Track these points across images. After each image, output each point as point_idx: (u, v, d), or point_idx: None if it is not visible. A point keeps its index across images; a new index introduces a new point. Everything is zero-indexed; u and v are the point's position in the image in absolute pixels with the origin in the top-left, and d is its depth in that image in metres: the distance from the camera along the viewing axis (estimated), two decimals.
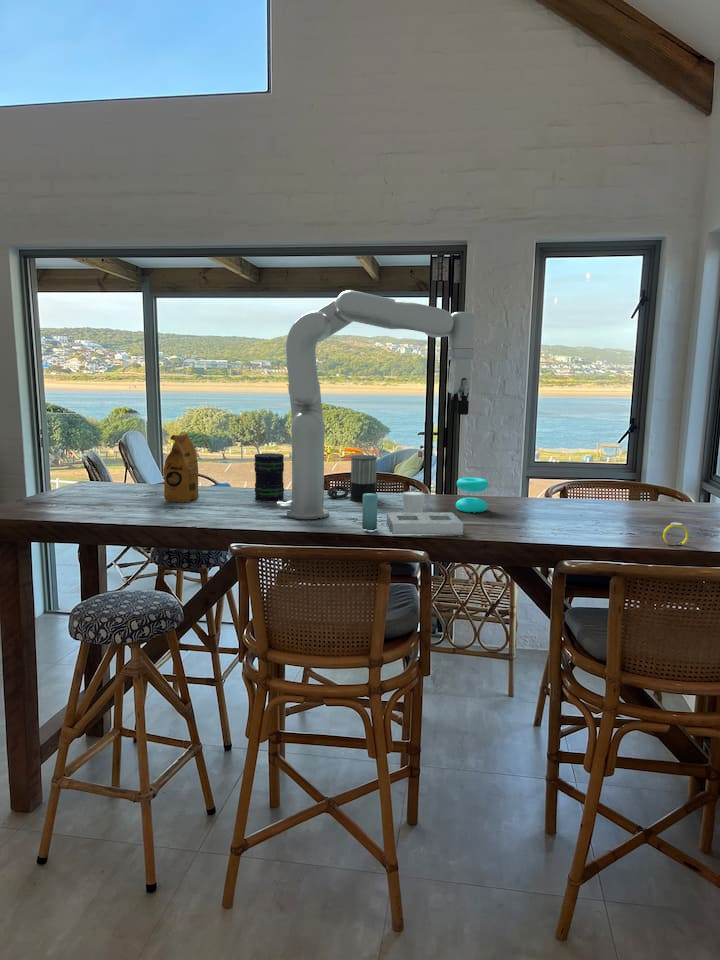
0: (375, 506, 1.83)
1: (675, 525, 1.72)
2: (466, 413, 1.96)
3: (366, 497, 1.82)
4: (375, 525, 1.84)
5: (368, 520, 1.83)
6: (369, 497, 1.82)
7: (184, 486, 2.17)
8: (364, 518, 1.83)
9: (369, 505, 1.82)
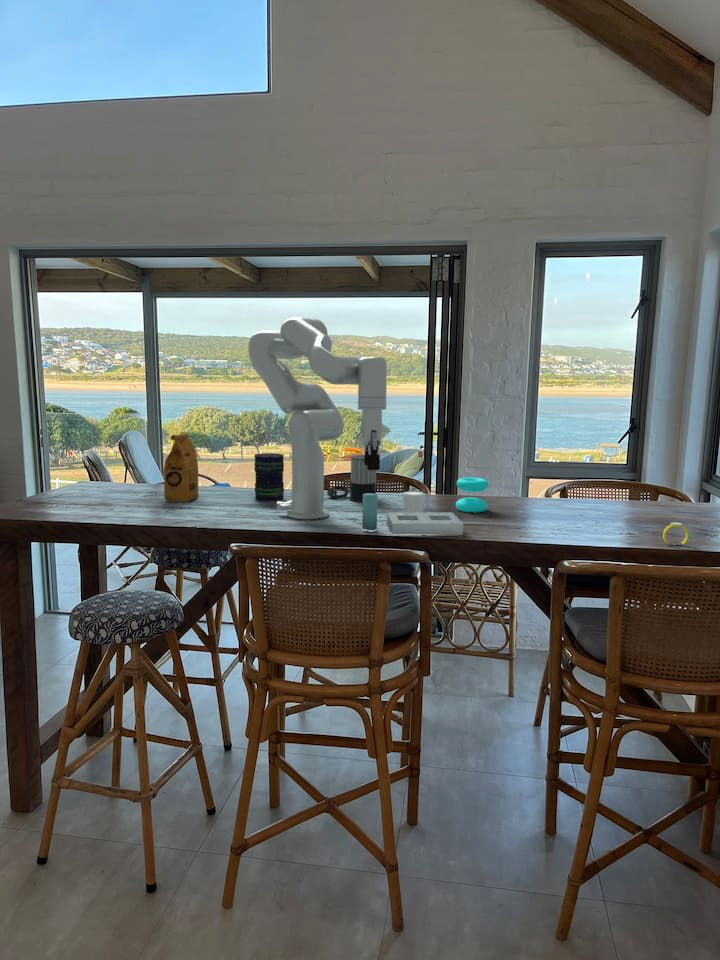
0: (375, 506, 1.83)
1: (675, 525, 1.72)
2: (377, 468, 1.77)
3: (366, 497, 1.82)
4: (375, 525, 1.84)
5: (368, 520, 1.83)
6: (369, 497, 1.82)
7: (184, 486, 2.17)
8: (364, 518, 1.83)
9: (369, 505, 1.82)
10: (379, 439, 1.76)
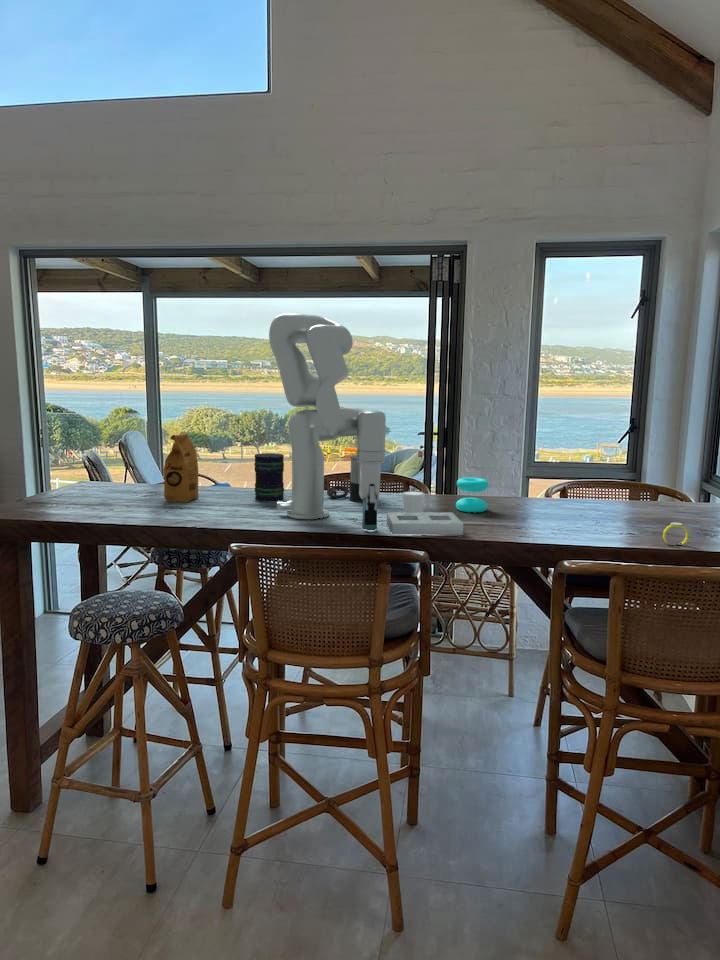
0: None
1: (675, 525, 1.72)
2: (374, 523, 1.82)
3: None
4: (375, 525, 1.84)
5: None
6: (369, 497, 1.82)
7: (184, 486, 2.17)
8: (364, 518, 1.83)
9: None
10: (377, 497, 1.79)
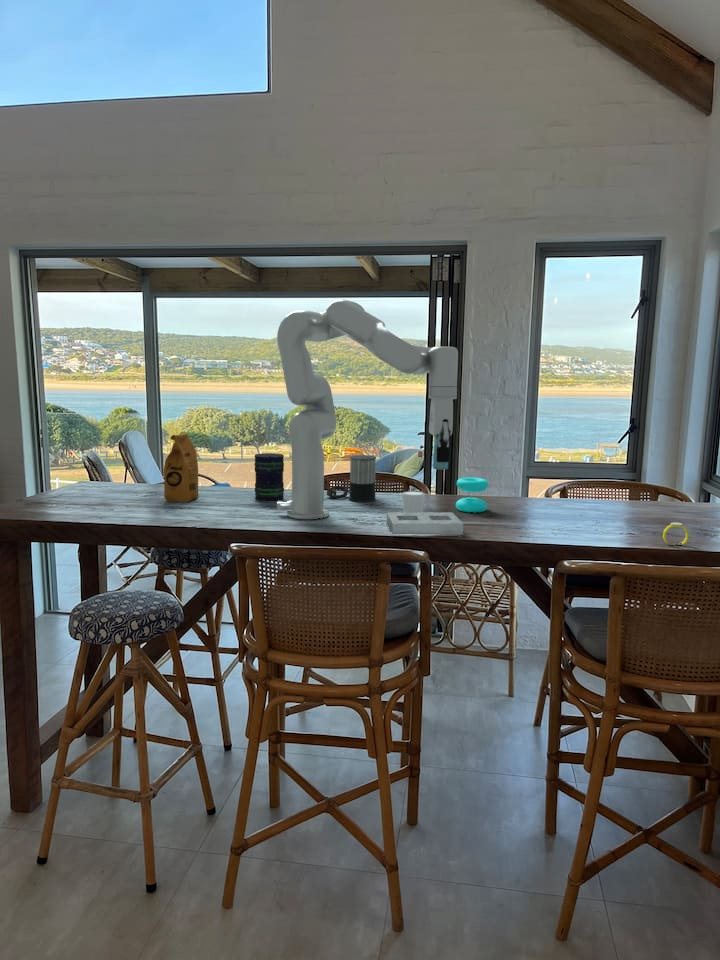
0: None
1: (675, 525, 1.72)
2: (446, 460, 1.81)
3: None
4: (447, 463, 1.82)
5: None
6: (441, 434, 1.80)
7: (184, 486, 2.17)
8: (436, 455, 1.82)
9: None
10: (450, 433, 1.78)
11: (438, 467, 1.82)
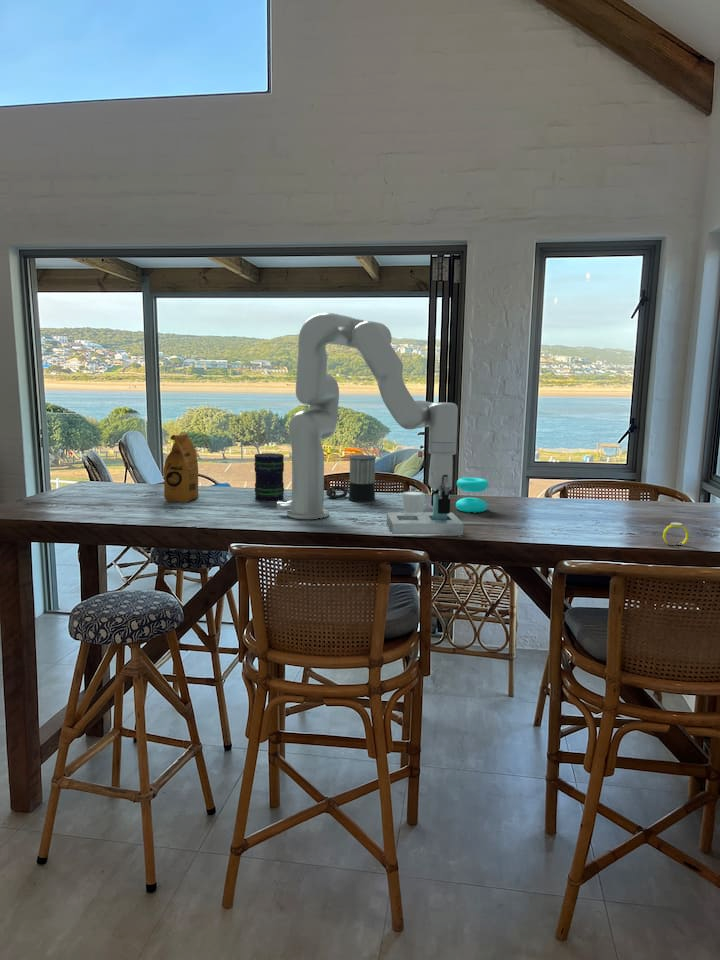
0: None
1: (675, 525, 1.72)
2: (447, 512, 1.81)
3: (437, 497, 1.83)
4: None
5: None
6: None
7: (184, 486, 2.17)
8: (435, 518, 1.85)
9: None
10: (450, 484, 1.80)
11: None
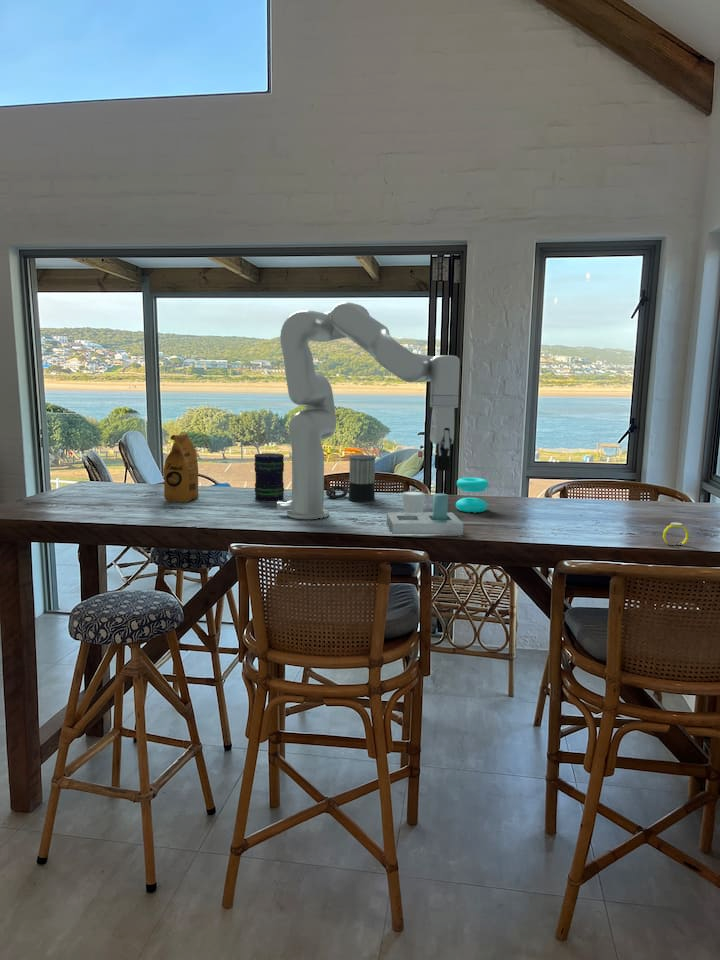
0: (446, 506, 1.84)
1: (675, 525, 1.72)
2: (447, 469, 1.82)
3: (437, 497, 1.83)
4: None
5: None
6: (440, 497, 1.83)
7: (184, 486, 2.17)
8: (435, 518, 1.85)
9: (440, 505, 1.83)
10: (451, 442, 1.79)
11: None
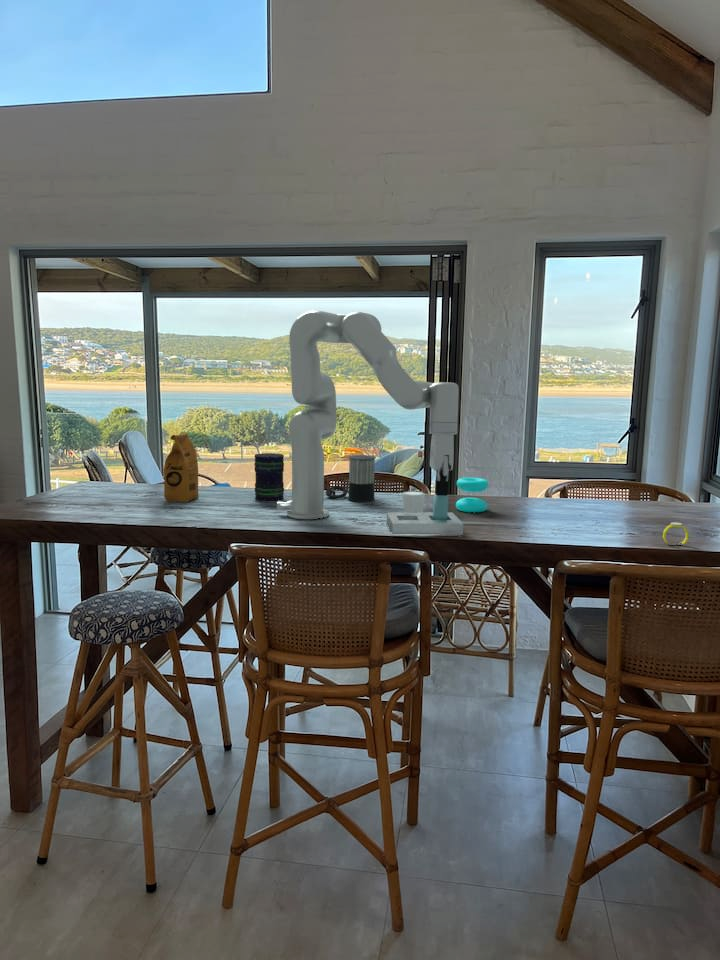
0: (446, 506, 1.84)
1: (675, 525, 1.72)
2: (445, 494, 1.84)
3: (438, 497, 1.83)
4: None
5: None
6: (441, 497, 1.83)
7: (184, 486, 2.17)
8: (435, 518, 1.85)
9: (441, 506, 1.83)
10: (450, 470, 1.80)
11: None
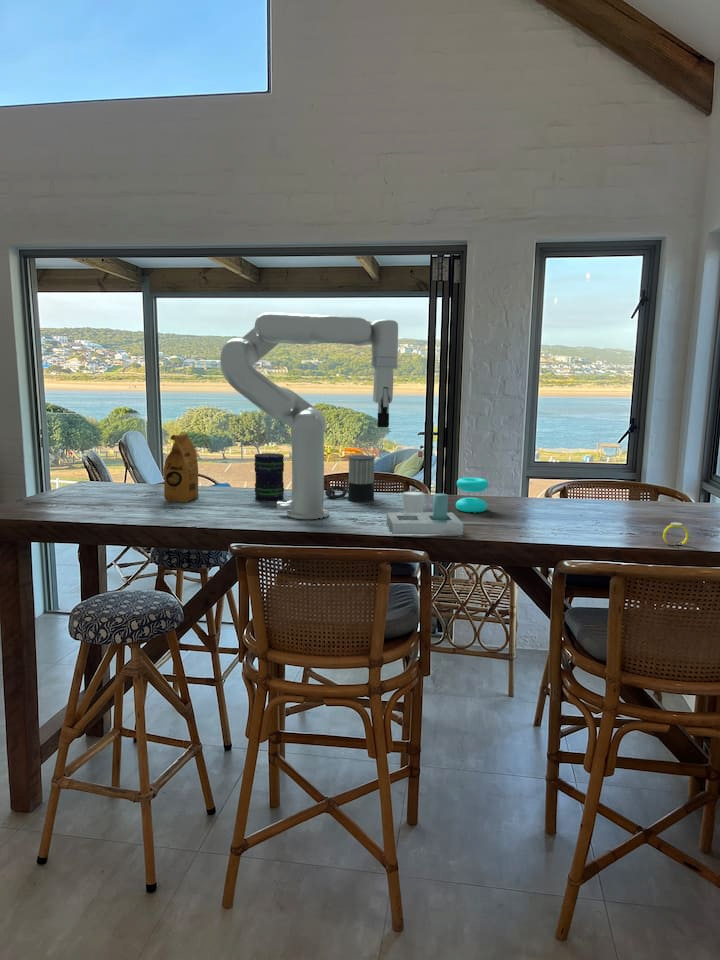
0: (446, 506, 1.84)
1: (675, 525, 1.72)
2: (386, 426, 1.97)
3: (437, 497, 1.83)
4: None
5: None
6: (440, 497, 1.83)
7: (184, 486, 2.17)
8: (435, 518, 1.85)
9: (440, 505, 1.83)
10: (390, 402, 1.93)
11: None
